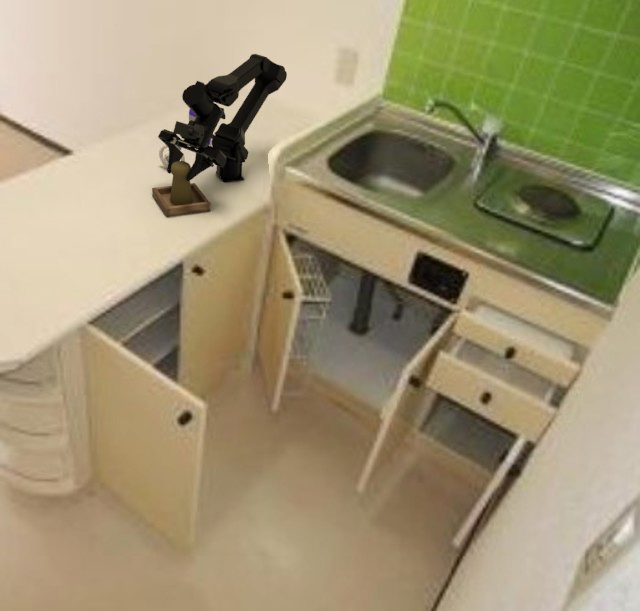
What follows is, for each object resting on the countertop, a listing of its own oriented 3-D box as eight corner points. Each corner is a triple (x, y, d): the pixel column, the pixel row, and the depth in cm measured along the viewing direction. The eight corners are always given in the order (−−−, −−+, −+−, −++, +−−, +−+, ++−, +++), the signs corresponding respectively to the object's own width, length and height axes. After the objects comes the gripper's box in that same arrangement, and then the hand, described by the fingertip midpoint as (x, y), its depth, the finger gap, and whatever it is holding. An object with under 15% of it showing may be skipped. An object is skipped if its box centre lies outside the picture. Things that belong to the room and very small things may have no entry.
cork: (189, 207, 170) (189, 170, 163) (167, 204, 170) (166, 166, 163) (195, 196, 175) (195, 160, 168) (173, 193, 175) (172, 156, 168)
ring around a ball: (156, 168, 187) (156, 143, 183) (165, 161, 192) (165, 136, 187) (181, 175, 186) (181, 149, 181) (190, 168, 191) (190, 142, 186)
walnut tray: (194, 191, 179) (194, 183, 178) (210, 211, 171) (210, 203, 170) (152, 196, 174) (152, 188, 172) (166, 217, 166) (166, 209, 164)
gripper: (161, 98, 164) (133, 152, 162) (221, 119, 158) (193, 175, 156) (181, 120, 174) (155, 170, 173) (238, 140, 168) (211, 193, 167)
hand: (177, 176), depth 167 cm, fingers open, 6 cm apart
